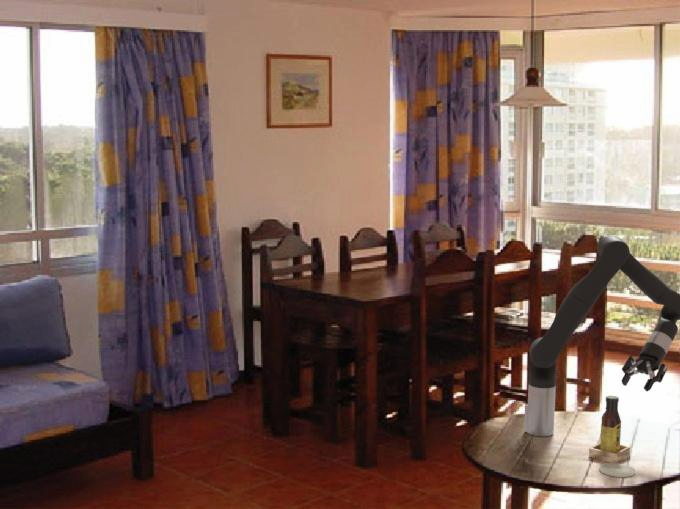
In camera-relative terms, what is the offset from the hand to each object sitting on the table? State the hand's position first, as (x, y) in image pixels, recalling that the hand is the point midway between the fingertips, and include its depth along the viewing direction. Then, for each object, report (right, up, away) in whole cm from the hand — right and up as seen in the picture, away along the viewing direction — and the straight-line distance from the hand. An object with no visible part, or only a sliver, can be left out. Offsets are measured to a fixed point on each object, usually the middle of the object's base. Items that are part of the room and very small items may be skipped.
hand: (634, 387), depth 349 cm
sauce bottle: (-9, -22, -4) cm, 25 cm away
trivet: (-10, -24, -18) cm, 32 cm away
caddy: (-9, -22, -4) cm, 24 cm away
